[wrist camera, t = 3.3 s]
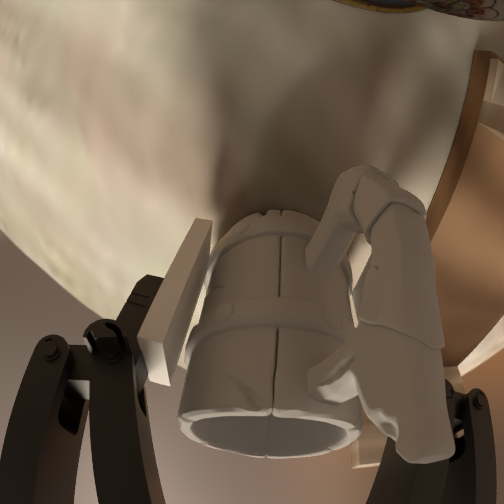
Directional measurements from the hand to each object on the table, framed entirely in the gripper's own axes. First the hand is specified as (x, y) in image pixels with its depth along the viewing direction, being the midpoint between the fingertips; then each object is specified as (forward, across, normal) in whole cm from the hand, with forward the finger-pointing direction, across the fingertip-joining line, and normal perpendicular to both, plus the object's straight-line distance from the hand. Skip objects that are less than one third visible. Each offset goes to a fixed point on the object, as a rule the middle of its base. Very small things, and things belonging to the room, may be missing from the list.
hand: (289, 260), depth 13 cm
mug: (+2, 0, 0) cm, 2 cm away
